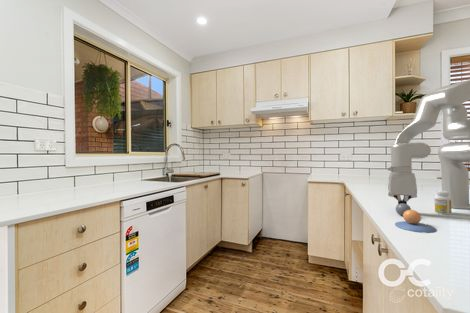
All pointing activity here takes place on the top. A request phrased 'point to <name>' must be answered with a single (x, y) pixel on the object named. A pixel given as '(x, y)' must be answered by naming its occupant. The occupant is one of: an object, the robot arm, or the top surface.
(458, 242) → the top surface
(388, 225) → the top surface
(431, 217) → the top surface
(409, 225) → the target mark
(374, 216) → the top surface
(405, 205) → the grey ball
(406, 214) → the object ball
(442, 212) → the supplement bottle
